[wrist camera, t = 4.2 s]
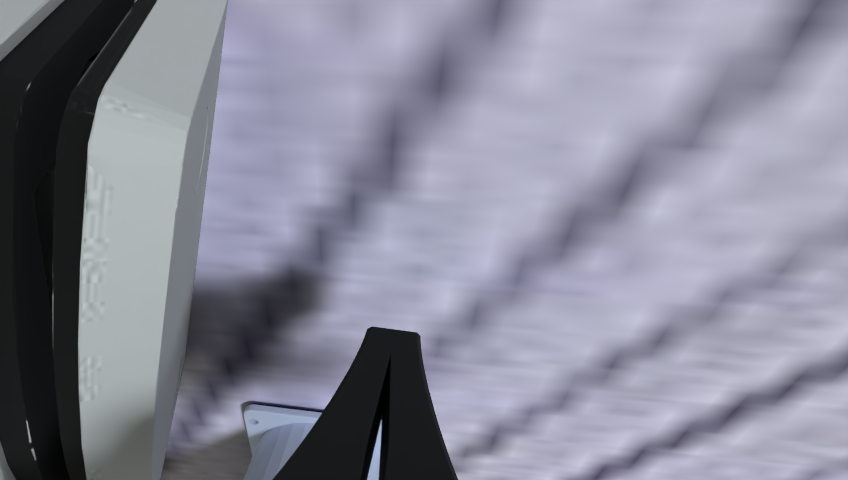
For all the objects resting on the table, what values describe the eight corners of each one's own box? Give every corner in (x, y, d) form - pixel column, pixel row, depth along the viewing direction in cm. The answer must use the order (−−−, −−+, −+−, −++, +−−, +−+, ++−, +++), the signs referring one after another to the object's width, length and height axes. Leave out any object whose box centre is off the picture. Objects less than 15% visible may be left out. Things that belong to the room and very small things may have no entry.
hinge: (18, -112, 10) (-770, -97, 2) (234, -25, 12) (168, 122, 4) (73, 328, 18) (-57, 612, 11) (190, 332, 21) (143, 572, 13)
